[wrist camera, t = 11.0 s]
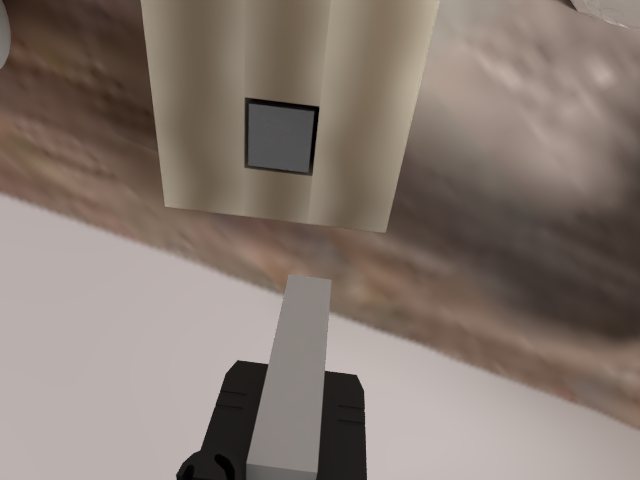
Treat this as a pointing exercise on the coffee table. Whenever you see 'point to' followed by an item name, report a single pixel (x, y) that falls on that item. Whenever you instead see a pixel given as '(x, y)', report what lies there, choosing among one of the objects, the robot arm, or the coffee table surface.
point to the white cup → (612, 11)
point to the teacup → (4, 35)
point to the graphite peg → (281, 134)
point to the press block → (286, 86)
